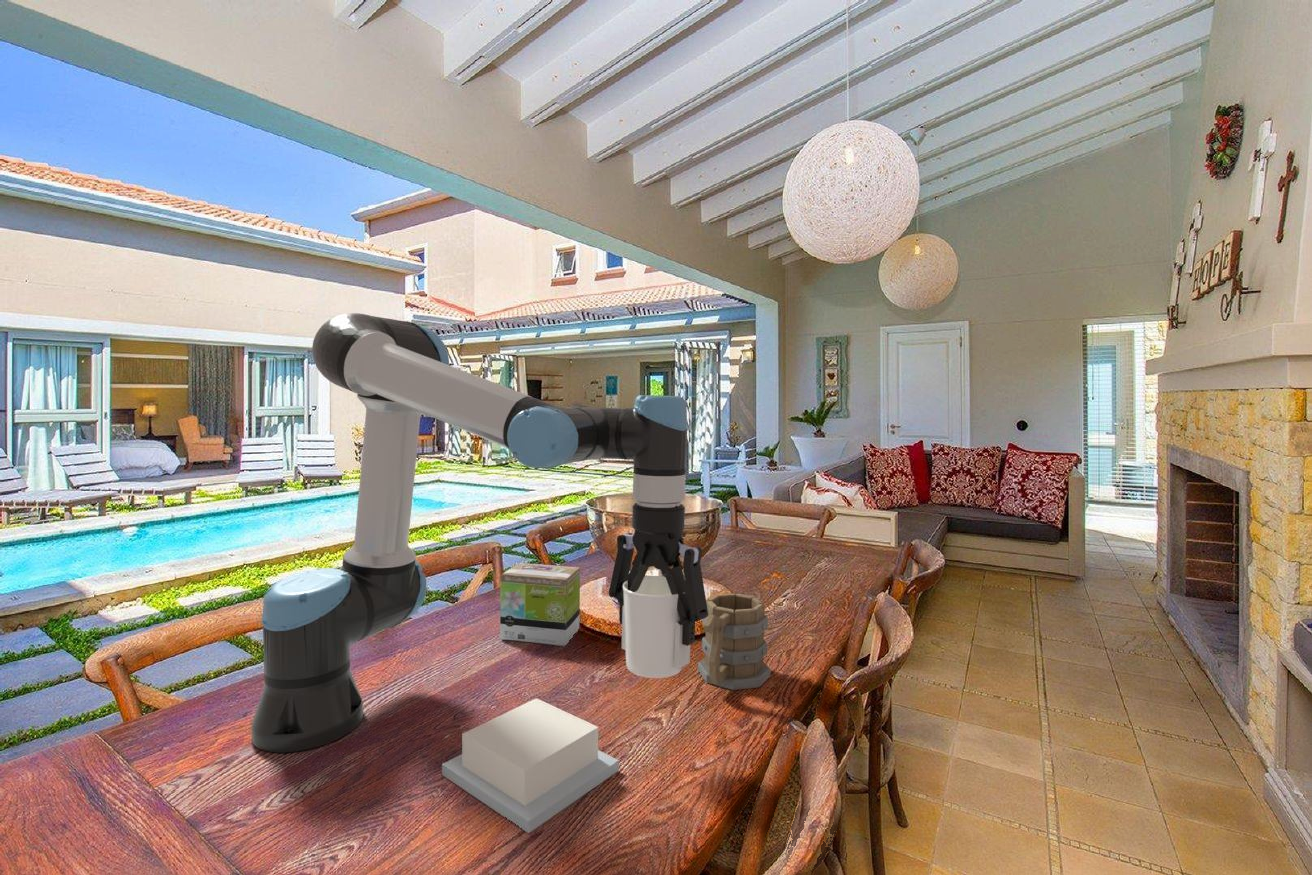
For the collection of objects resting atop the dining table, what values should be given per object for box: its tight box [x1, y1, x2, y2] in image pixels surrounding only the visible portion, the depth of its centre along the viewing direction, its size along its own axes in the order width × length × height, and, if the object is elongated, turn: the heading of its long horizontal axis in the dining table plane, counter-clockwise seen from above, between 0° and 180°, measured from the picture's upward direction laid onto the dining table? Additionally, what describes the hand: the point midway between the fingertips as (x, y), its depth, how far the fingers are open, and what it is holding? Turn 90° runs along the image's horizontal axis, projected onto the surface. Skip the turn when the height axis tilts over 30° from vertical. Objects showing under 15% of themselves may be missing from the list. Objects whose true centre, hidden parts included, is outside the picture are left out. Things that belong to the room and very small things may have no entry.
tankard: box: [697, 592, 771, 691], centre depth 112 cm, size 20×13×15 cm, turn 149°
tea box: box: [499, 562, 581, 647], centre depth 133 cm, size 15×10×15 cm
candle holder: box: [623, 575, 684, 679], centre depth 89 cm, size 10×10×12 cm
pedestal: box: [441, 697, 620, 834], centre depth 84 cm, size 18×16×6 cm
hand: (654, 655), depth 89 cm, fingers closed on candle holder, 9 cm apart
